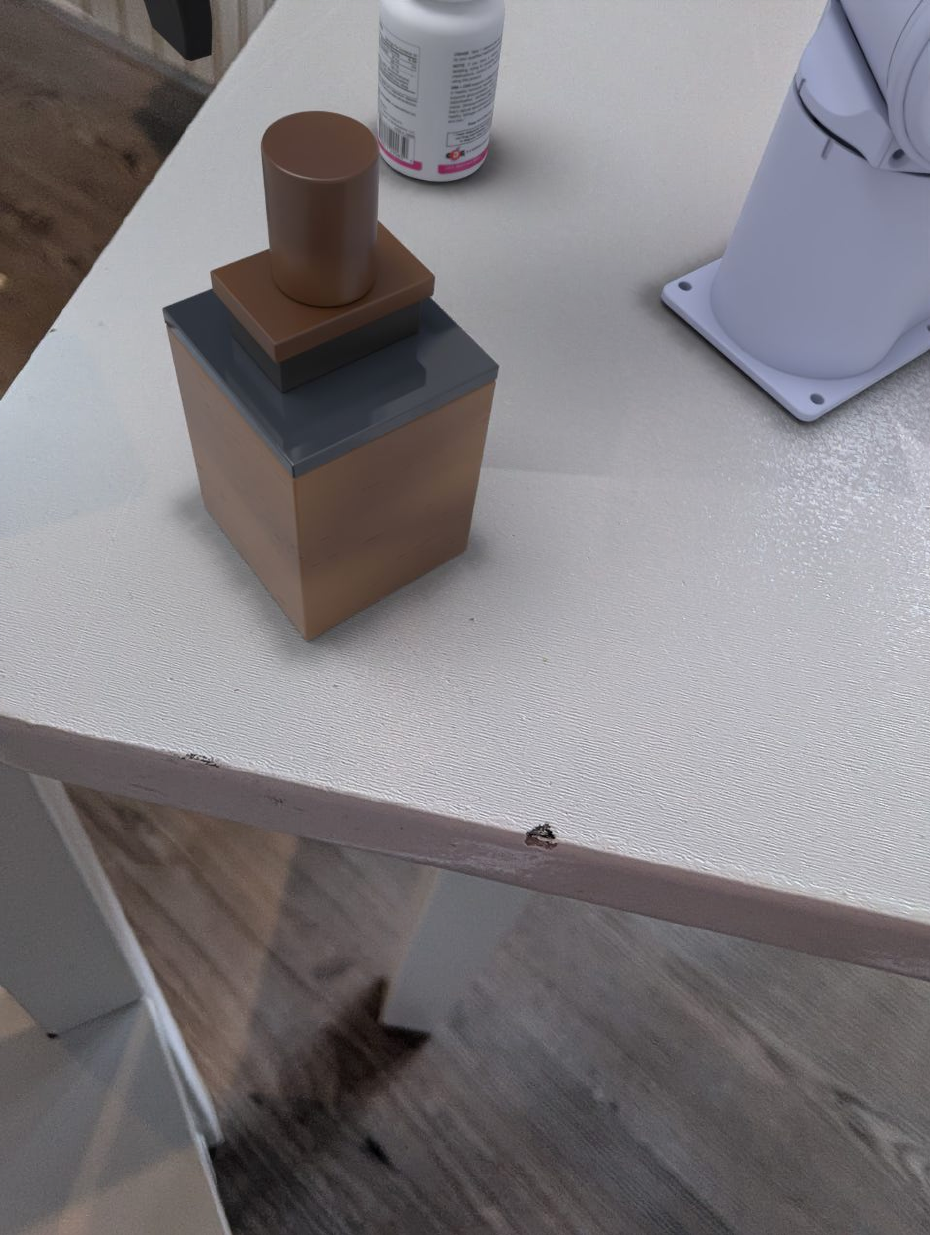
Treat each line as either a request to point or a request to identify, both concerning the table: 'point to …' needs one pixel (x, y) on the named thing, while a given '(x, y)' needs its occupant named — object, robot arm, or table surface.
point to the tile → (334, 383)
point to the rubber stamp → (321, 256)
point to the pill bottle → (437, 84)
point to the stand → (337, 501)
